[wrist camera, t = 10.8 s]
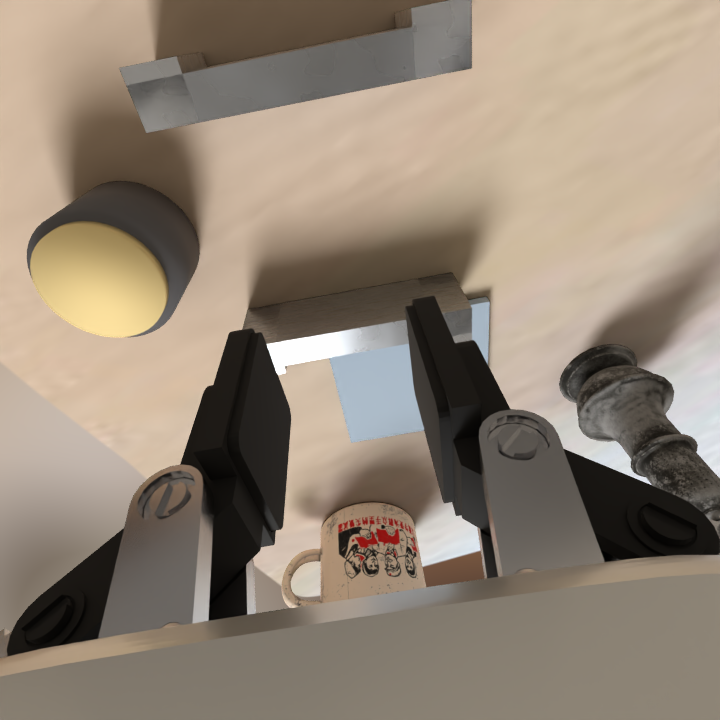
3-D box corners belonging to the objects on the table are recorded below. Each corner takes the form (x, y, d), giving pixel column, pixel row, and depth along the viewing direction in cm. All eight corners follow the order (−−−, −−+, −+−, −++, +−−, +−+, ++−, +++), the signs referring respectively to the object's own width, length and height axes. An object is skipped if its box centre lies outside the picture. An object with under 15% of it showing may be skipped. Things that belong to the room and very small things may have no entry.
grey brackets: (443, 3, 17) (471, -5, 14) (453, 302, 26) (472, 340, 23) (155, 62, 18) (118, 67, 15) (258, 337, 26) (249, 379, 23)
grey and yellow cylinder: (171, 170, 20) (135, 203, 16) (216, 283, 24) (195, 332, 20) (49, 192, 20) (-16, 230, 16) (111, 301, 24) (71, 354, 20)
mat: (486, 296, 26) (489, 301, 25) (483, 414, 32) (486, 420, 31) (322, 326, 26) (322, 331, 26) (350, 436, 32) (351, 442, 32)
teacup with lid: (427, 500, 38) (462, 651, 29) (402, 555, 43) (425, 697, 34) (290, 494, 36) (280, 654, 27) (282, 552, 41) (271, 702, 32)
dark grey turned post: (603, 327, 28) (752, 480, 18) (657, 361, 30) (816, 514, 20) (537, 388, 31) (636, 548, 21) (591, 415, 33) (703, 572, 23)
